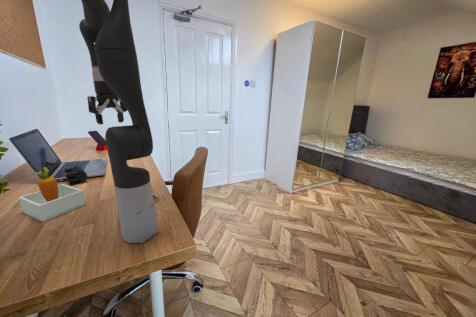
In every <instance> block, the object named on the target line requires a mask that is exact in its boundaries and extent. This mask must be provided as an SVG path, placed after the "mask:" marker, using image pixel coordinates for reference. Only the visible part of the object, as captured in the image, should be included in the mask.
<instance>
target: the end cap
mask: <svg viewBox="0 0 476 317" xmlns="http://www.w3.org/2000/svg"><path fill="white" fill-rule="evenodd" d="M64 173H66V174H65V178H66V181H67V183H68V186H71V187H73V186H77V185H81V184H83V183H84V182H85V181H86V180H87V179H88V173H87V172H86V171H85V170H84V169H83V168H82V167H81V166H80V165H74V167H70V168H64Z"/></svg>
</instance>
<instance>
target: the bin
mask: <svg viewBox="0 0 476 317" xmlns="http://www.w3.org/2000/svg"><path fill="white" fill-rule="evenodd" d="M57 186H58V199H55V200H52V201H49V202H47V201H46V200H45V198H44V197H43V195H42V193H41V191H40V190H39V191H35V192H32V193H28V194H24V195H22V196H19V197H18V201H19V203H20V207H21V211H22V213H23V214H25V215H27V216H29V217H32V218H33V219H36V220H38V221H40V222H42V223H45V222H47V221H50V220H53V219H55V218H57V217H59V216H62V215H64V214H67V213H69V212H72V211H74V210H77V209H78V208H81V207H83V206H86V199H85V194H84V190H82V189H80V188H76V187H74V186H70V185H67V184H64V183H62V184H59V185H58V184H57Z"/></svg>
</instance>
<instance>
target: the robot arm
mask: <svg viewBox="0 0 476 317" xmlns="http://www.w3.org/2000/svg"><path fill="white" fill-rule="evenodd" d="M112 1H113V2H112V5H111V9H110V7H109V5H108V4H107V1H106V0H81V3H82V9H83V15H84V16H83V17H84V19H81V20H80V22H79V31H80V34H81V36H82V38H83V41H84V42H85V44H86V47H87V50H88V53H89V57H90V62H91V64H90V65H91V70H92V71H91V73H92V81H93V88H94V92H95V94H96V96H94V95H93V96H92V95H91V96H90V95H88V96H87V106H88V112H89V114H90V113H91V114H94V115H95V121H96V123H97V124H98V125H104V119H103V114H102V113H103V111H104V110H105V109H108V108H109V109H110V108H111V109H113V110H114V111H116V114H117V115H116V117H117V122H118V123H123V122H124V120H125V118H124V113H125V112H127V111H128V115H129V117H130V119H131V124H132V125H130V124H129V125H120V126H119V125H117V126H111V127H108V128H107V129H106V131H105V137H104V138H105V144H106V145H105V146H106V150H107V154H108V158H109V162H110V167H111V168H110V169H111V174H112V178H113V183H114V184H113V185H114V191H115V198H116V204H117V210H118V218H119V223H120V230H121V236H122V237H121V238H122V240H123V241H124V242H125V243H128V244H137V243H139V244H144V243H145V242H147V241H148V240H149V239H150V238H152V237H154V236H155V235H156V234H157V233H158V232H159V230H158V220H157V210H156V205H155V204H154V203H153V195H152V193H151V192H152V186H151V185H152V184H151V175H150V171H149V170H148V169H145V168H143V167H134V166H130V165H128V162H127V161H130V160H137V159H140V158H146V157H150V156H151V155H152V154H153V150H154V142H153V135H152V131H151V127H150V122H149V119H148V114H147V111H146V110H147V109H146V106H145V102H144V95H143V90H142V84H141V75H140V70H139V69H140V67H139V62H138V56H137V50H136V44H135V41H134V35H133V30H132V28H133V27H132V23H131V16H130V9H129V8H130V7H129V0H112ZM96 103H97V105H96Z"/></svg>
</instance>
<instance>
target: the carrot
mask: <svg viewBox="0 0 476 317" xmlns="http://www.w3.org/2000/svg"><path fill="white" fill-rule="evenodd" d="M43 171H44V172H42V171H38V172H37V171H35V172H34V174H35V175H38V176H40V177H41V178H40V179H38V180H37V185H38V189H39V191H41V193H42V195H43V197H44V198H45V200H46V201H47V202H49V201H52V200H55V199H58V183H57V179H56V178H55V177H54V176H49V172H50V170H49V169H48V167H47V166H46V167H45V166H44V167H43Z"/></svg>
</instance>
